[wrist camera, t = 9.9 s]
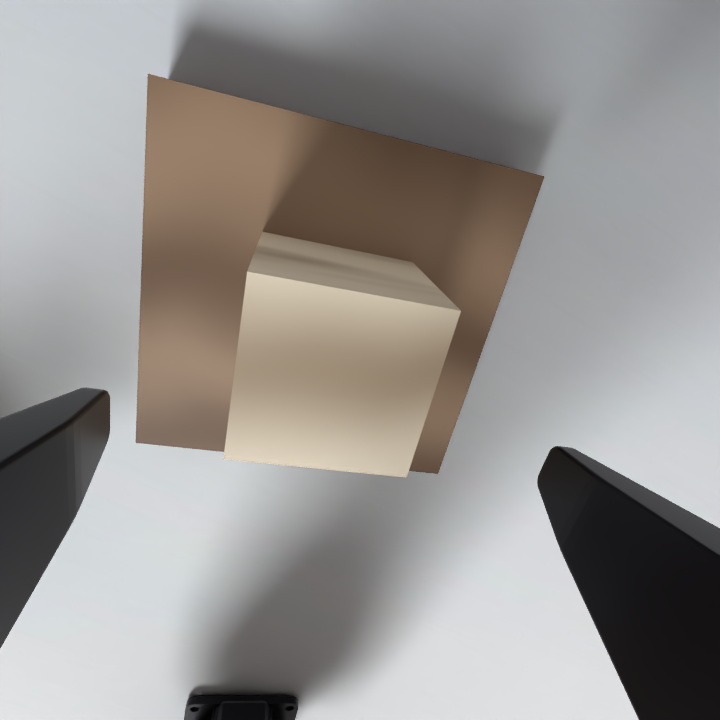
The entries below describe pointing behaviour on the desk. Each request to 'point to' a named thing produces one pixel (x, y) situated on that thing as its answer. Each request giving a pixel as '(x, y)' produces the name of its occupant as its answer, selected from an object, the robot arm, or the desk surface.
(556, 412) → the desk surface
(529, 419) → the desk surface
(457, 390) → the walnut base
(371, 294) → the birch cube
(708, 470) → the desk surface
